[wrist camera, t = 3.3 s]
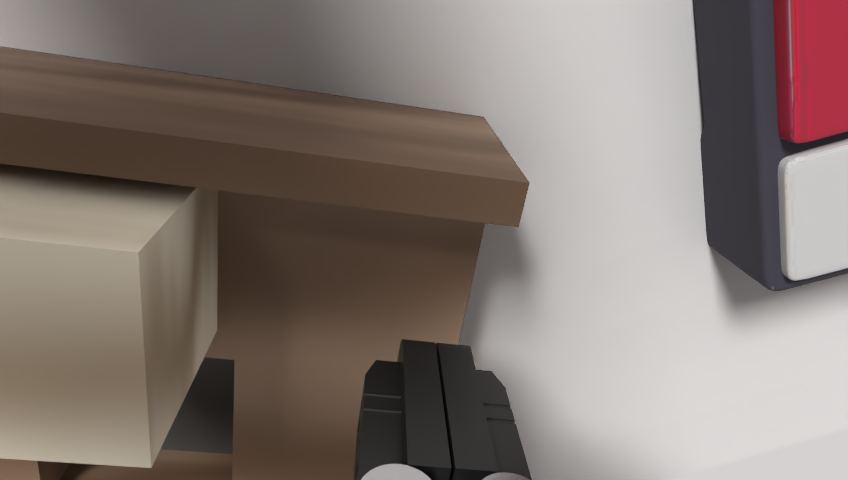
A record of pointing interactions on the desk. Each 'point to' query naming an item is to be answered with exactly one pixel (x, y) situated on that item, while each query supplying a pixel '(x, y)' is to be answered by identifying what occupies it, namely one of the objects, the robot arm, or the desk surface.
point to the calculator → (776, 136)
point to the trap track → (278, 243)
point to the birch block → (100, 312)
